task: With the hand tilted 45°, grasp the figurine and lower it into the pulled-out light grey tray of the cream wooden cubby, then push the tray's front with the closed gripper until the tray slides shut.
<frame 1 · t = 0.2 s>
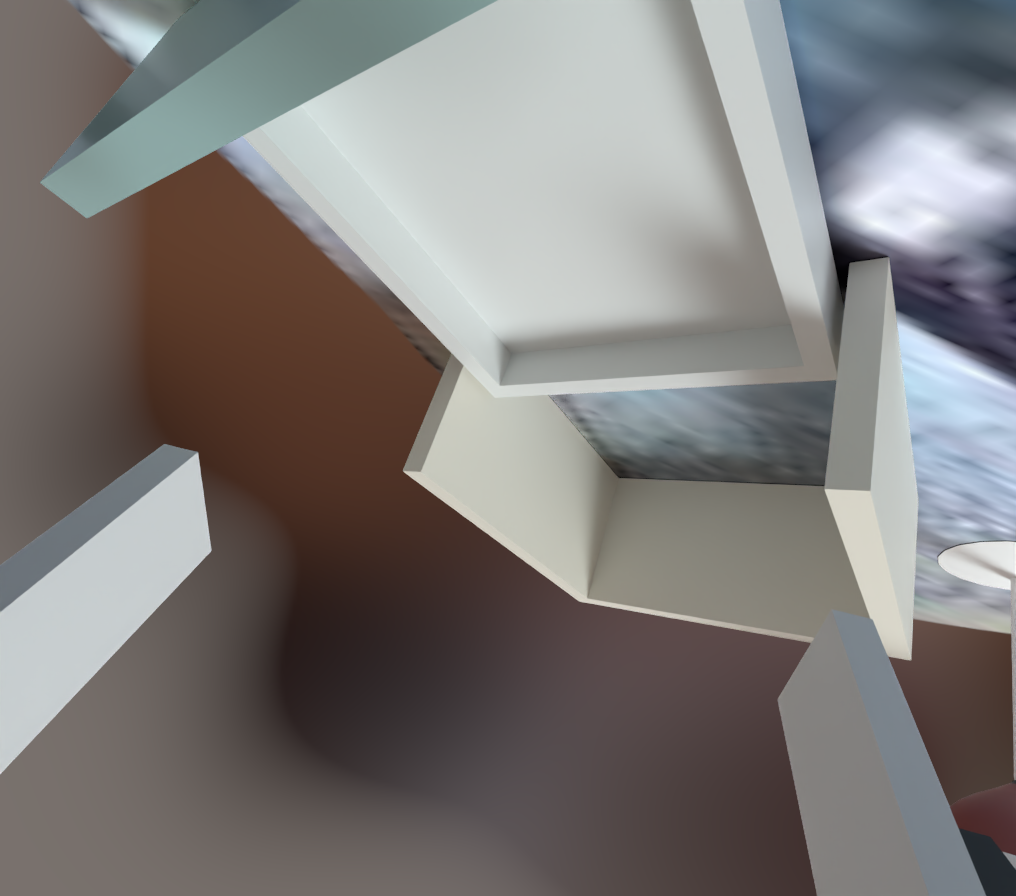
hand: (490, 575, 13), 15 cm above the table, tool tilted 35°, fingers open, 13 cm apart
cubby: (689, 396, 33), on the table
tray: (522, 253, 21), point 4 cm above the table, slide at 15.0 cm
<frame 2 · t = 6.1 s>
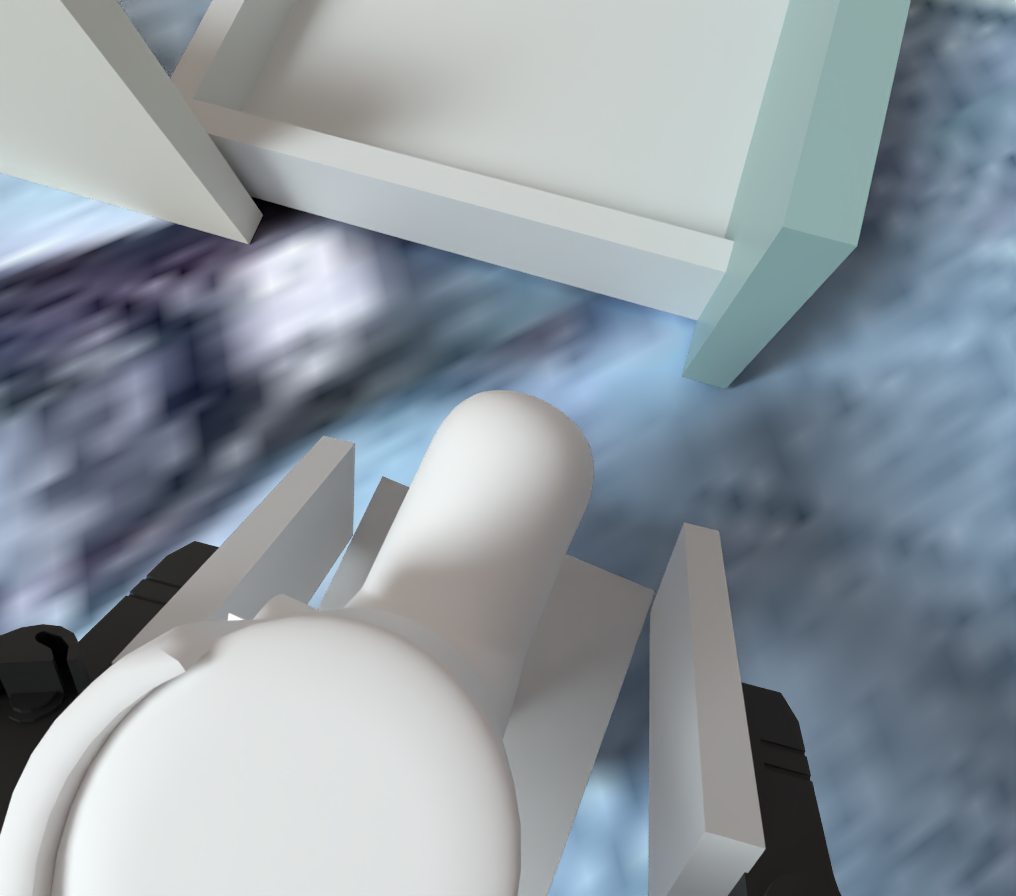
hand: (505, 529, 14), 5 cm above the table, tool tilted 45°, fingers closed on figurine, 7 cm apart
figurine: (468, 664, 18), on the table, touching gripper
when the fingers open (7 cm above the table, at t = 12.9 s): figurine drops 1 cm, resting on tray.
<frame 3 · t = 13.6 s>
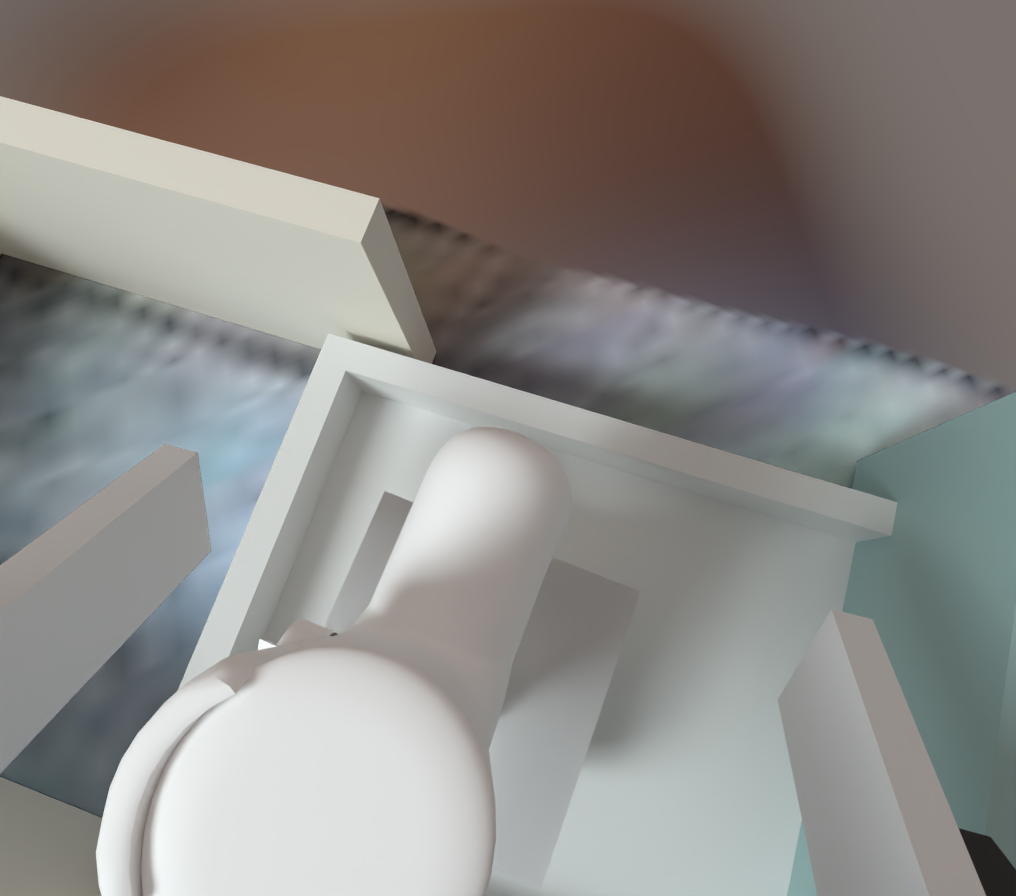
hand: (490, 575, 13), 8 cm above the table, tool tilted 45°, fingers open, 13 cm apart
figurine: (470, 662, 19), point 1 cm above the table, touching tray
cubby: (130, 532, 22), on the table
tray: (542, 693, 16), point 4 cm above the table, slide at 14.9 cm, touching figurine
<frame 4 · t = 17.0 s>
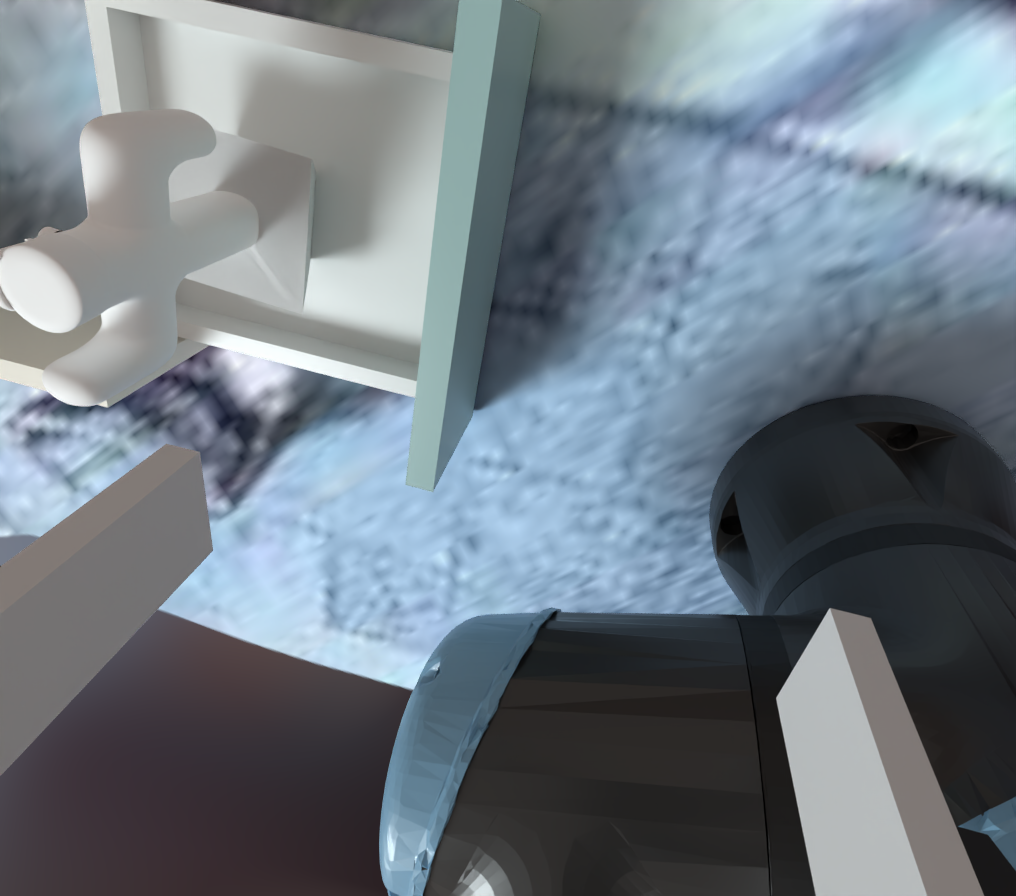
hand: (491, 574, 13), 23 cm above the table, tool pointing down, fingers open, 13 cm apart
figurine: (275, 204, 32), point 1 cm above the table, touching tray
cubby: (64, 144, 34), on the table
tray: (285, 222, 29), point 4 cm above the table, slide at 14.9 cm, touching figurine
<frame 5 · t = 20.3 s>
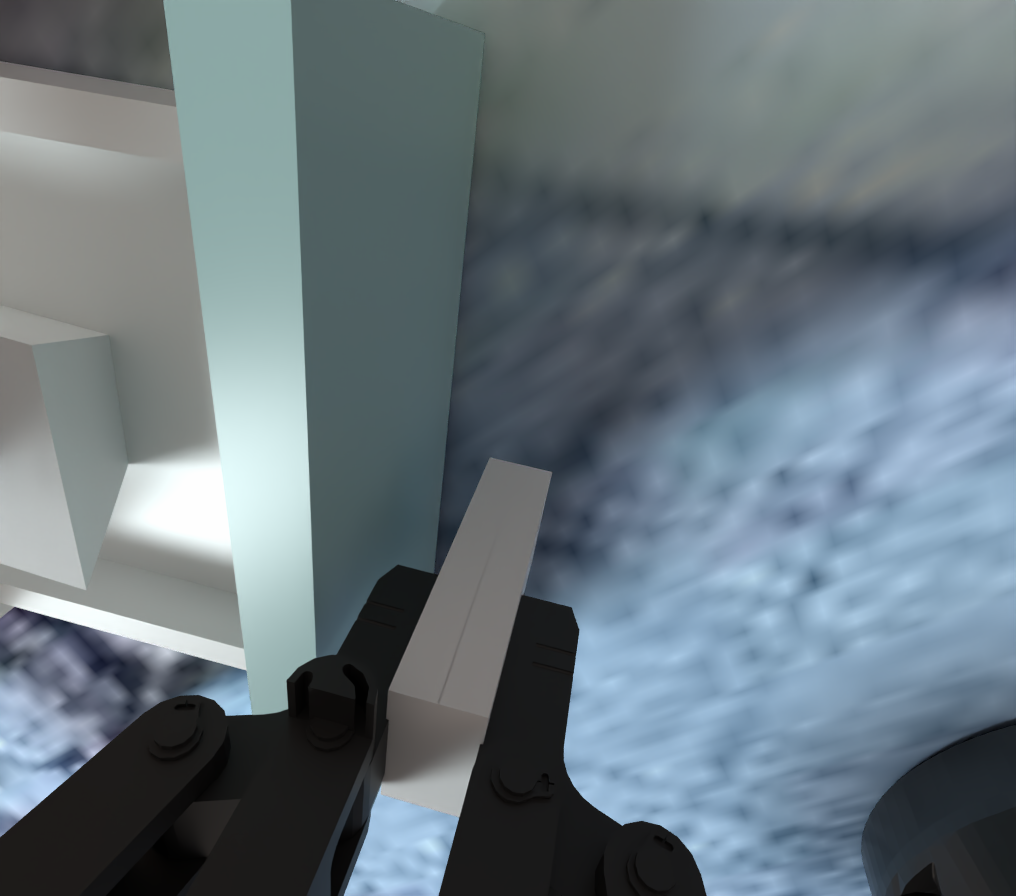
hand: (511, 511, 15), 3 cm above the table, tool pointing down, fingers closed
figurine: (57, 381, 19), point 1 cm above the table, touching tray
tray: (29, 441, 15), point 4 cm above the table, slide at 13.4 cm, touching figurine, gripper
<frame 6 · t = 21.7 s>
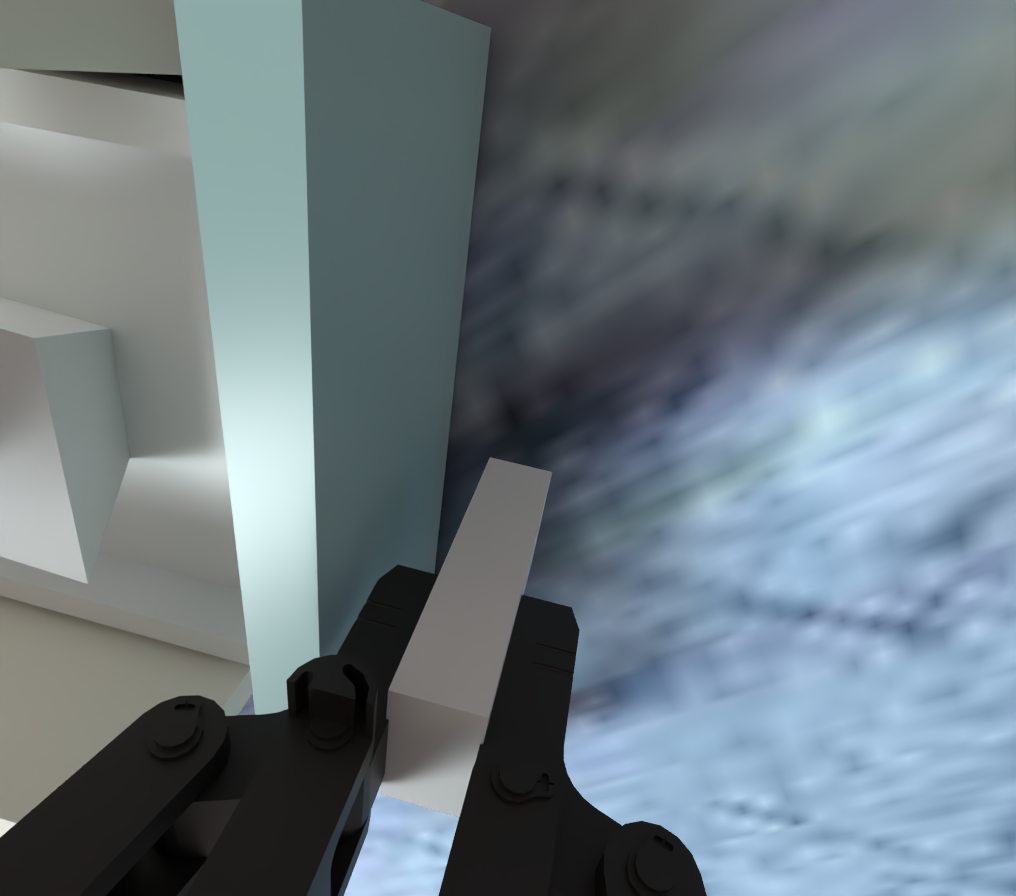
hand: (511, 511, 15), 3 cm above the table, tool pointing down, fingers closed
figurine: (59, 375, 19), point 1 cm above the table, touching tray
cubby: (49, 346, 19), on the table
tray: (31, 435, 15), point 4 cm above the table, slide at 3.4 cm, touching figurine, gripper
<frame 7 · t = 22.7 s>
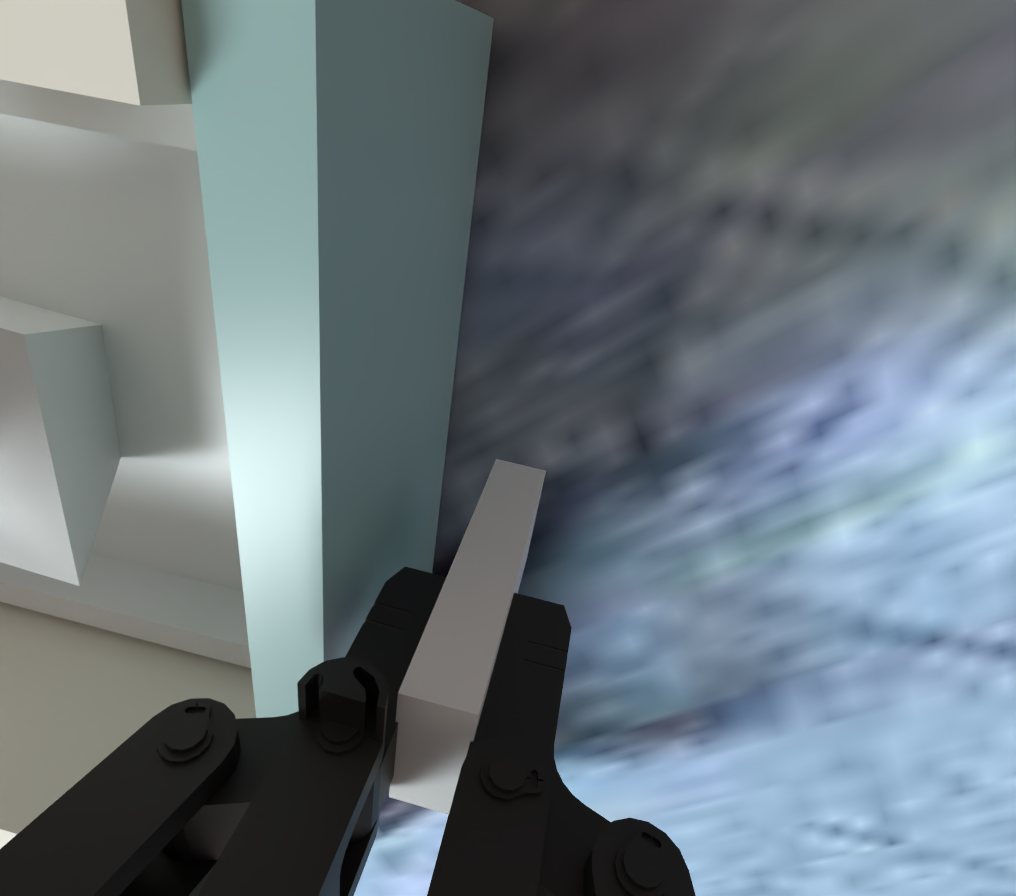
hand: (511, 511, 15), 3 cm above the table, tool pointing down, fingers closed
figurine: (47, 372, 18), point 1 cm above the table, touching tray
cubby: (146, 367, 19), on the table
tray: (20, 434, 15), point 4 cm above the table, slide at -0.2 cm, touching figurine, gripper
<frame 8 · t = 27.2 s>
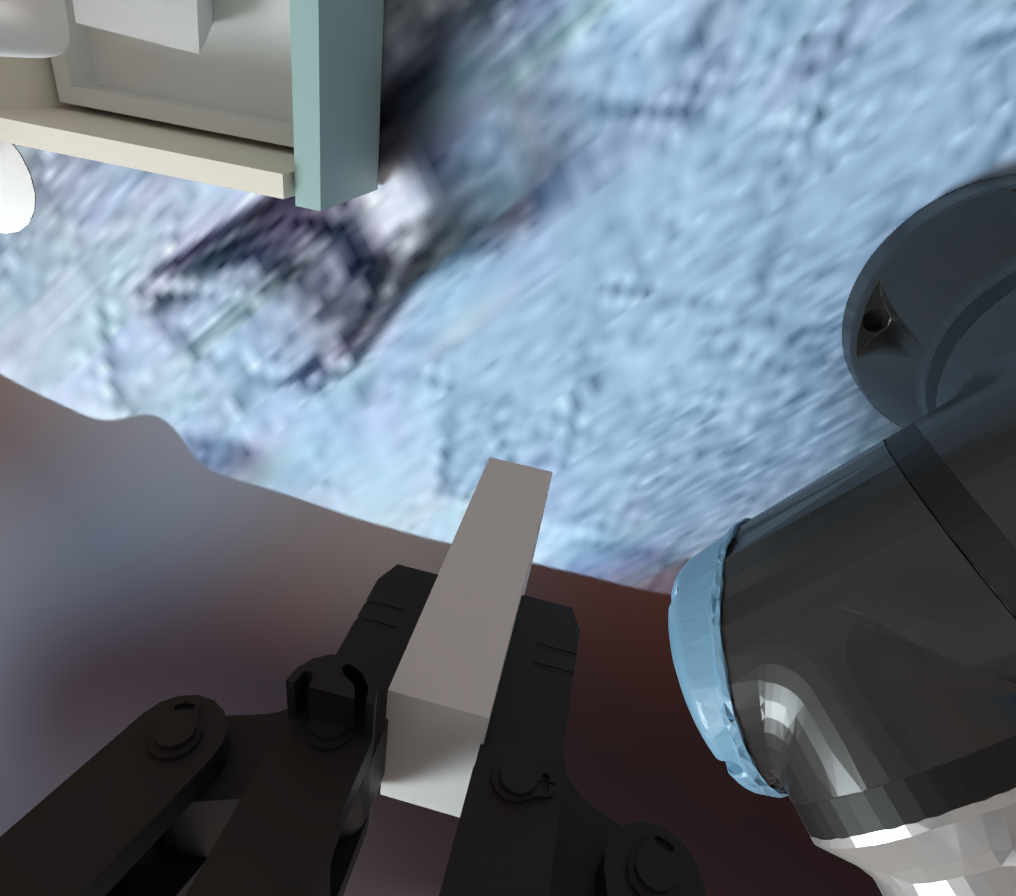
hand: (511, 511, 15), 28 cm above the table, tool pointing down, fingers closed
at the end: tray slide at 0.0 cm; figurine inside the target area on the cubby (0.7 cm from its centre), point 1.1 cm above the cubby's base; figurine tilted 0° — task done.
